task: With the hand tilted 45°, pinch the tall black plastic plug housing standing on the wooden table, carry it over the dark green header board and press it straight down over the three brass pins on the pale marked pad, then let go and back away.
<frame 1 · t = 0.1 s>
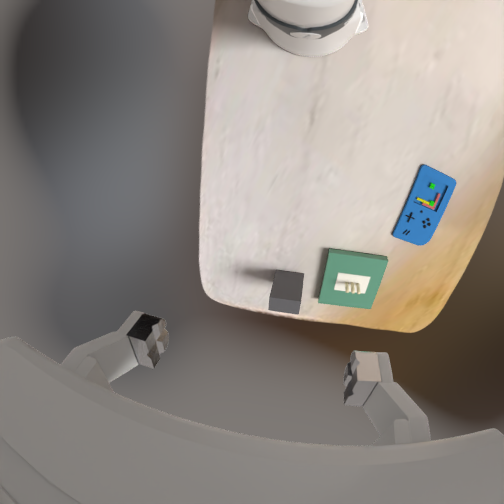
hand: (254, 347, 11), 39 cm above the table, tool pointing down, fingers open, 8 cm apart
header board: (351, 278, 54), on the table
handheld gaming device: (424, 206, 43), on the table
plug housing: (289, 278, 57), on the table
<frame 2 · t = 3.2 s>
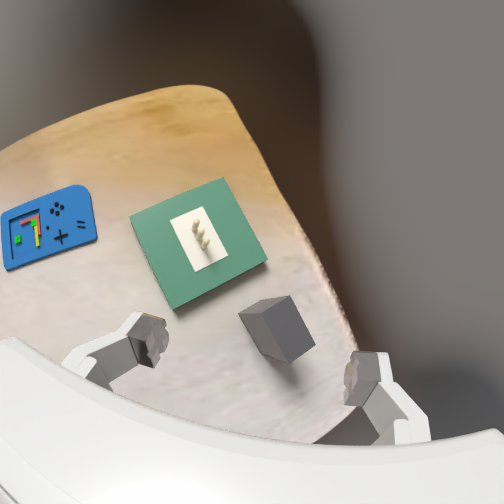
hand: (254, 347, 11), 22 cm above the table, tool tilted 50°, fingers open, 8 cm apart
header board: (197, 241, 33), on the table
handheld gaming device: (45, 227, 28), on the table
plug housing: (260, 326, 34), on the table
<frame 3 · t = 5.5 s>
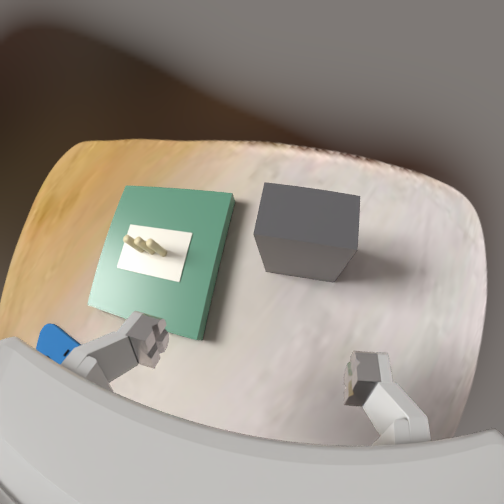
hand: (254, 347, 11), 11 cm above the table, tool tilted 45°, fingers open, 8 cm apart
header board: (159, 256, 25), on the table
handheld gaming device: (55, 387, 23), on the table
plug housing: (302, 257, 23), on the table
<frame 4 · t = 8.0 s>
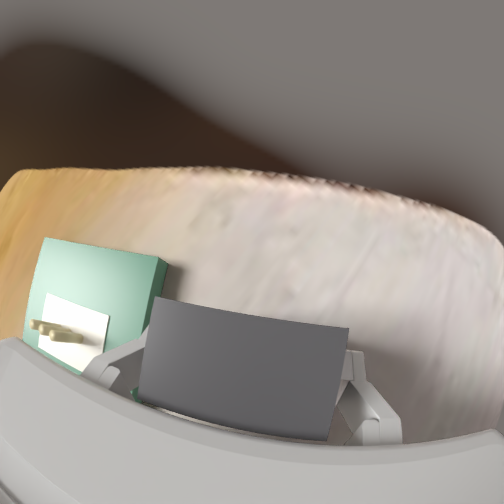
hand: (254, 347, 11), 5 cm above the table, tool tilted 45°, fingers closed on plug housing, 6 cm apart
header board: (82, 335, 17), on the table
plug housing: (261, 355, 15), on the table, touching gripper
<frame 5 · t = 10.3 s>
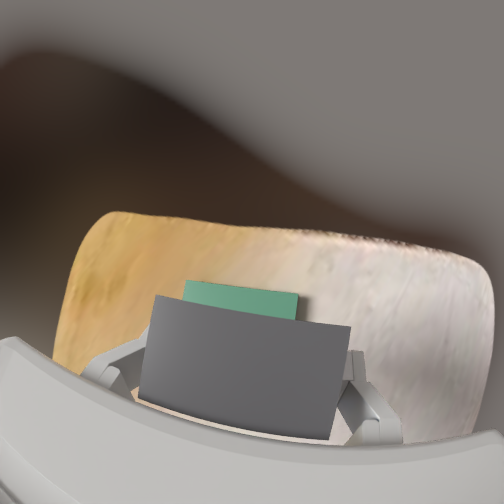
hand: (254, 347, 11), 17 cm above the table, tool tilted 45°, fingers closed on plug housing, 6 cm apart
header board: (233, 349, 28), on the table
plug housing: (262, 354, 15), point 13 cm above the table, touching gripper
when the fingers open (7 cm above the table, at t = 13.0 s): plug housing stays where it is, resting on header board.
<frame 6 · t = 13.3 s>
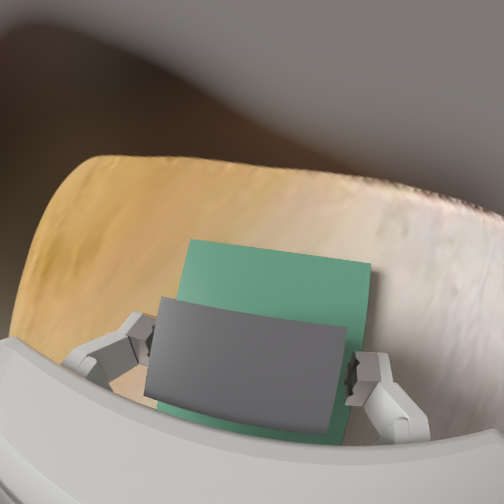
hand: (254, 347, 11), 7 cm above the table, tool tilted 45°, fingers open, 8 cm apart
header board: (263, 352, 17), on the table
plug housing: (262, 353, 16), point 2 cm above the table, touching header board
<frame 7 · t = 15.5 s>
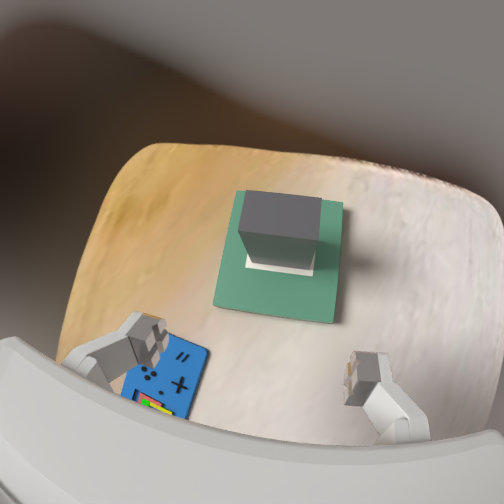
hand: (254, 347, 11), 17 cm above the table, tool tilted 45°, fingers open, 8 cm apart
header board: (282, 255, 29), on the table
handheld gaming device: (157, 394, 27), on the table
plug housing: (282, 250, 28), point 2 cm above the table, touching header board
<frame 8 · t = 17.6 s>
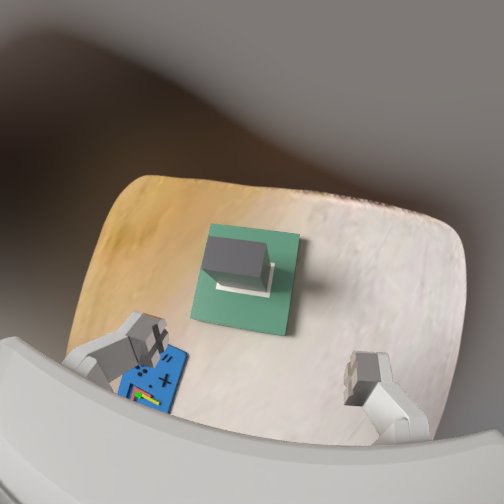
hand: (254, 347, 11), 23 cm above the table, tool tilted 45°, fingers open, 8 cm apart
header board: (246, 278, 36), on the table
handheld gaming device: (148, 388, 33), on the table
plug housing: (245, 275, 34), point 2 cm above the table, touching header board
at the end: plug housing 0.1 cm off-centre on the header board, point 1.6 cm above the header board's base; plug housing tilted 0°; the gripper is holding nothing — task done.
